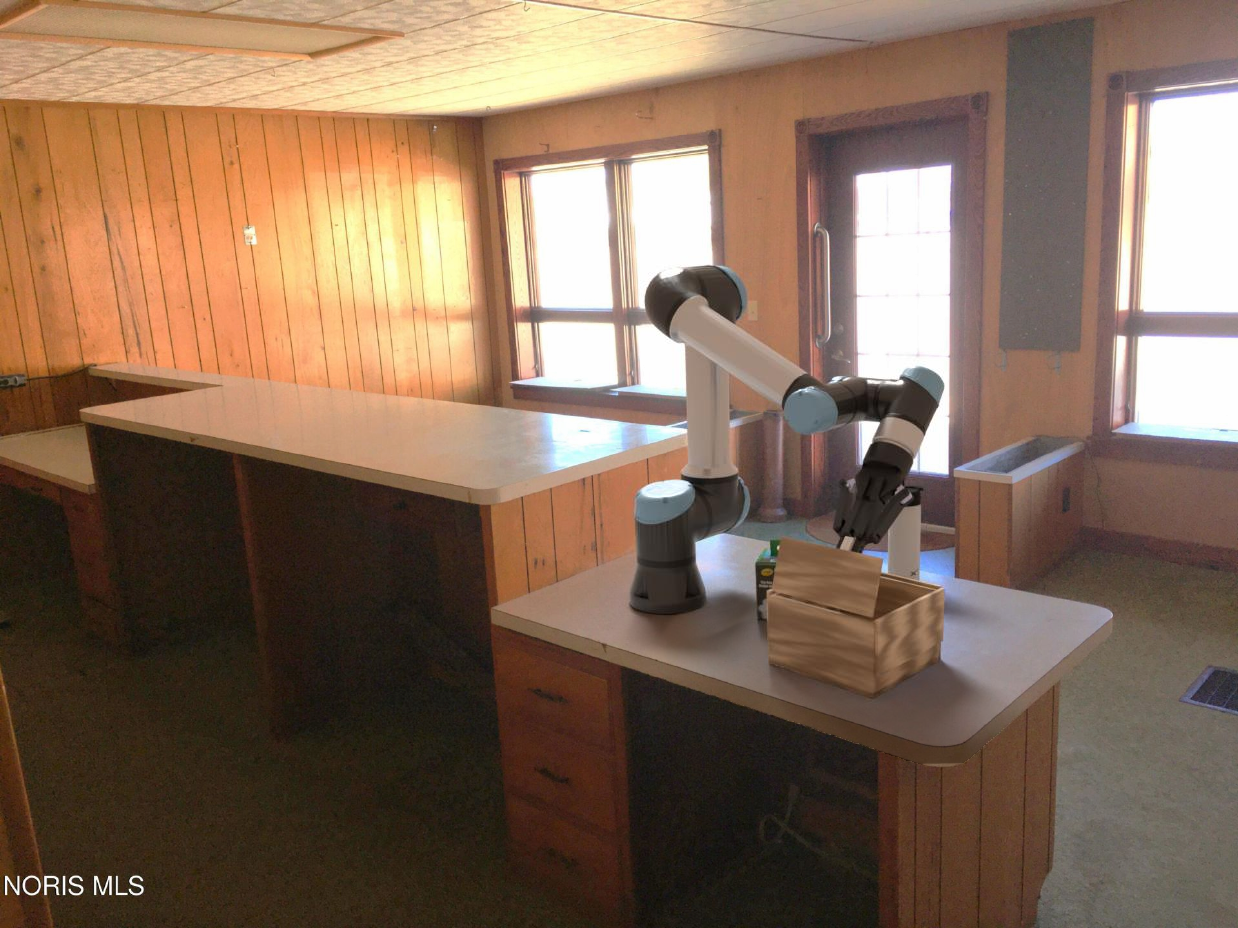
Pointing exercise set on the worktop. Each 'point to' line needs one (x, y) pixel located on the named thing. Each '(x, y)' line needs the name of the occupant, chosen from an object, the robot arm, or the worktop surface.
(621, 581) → the worktop surface
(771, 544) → the chalk box
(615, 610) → the worktop surface
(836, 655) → the light wood open box
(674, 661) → the worktop surface
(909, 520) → the travel mug
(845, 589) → the flap
